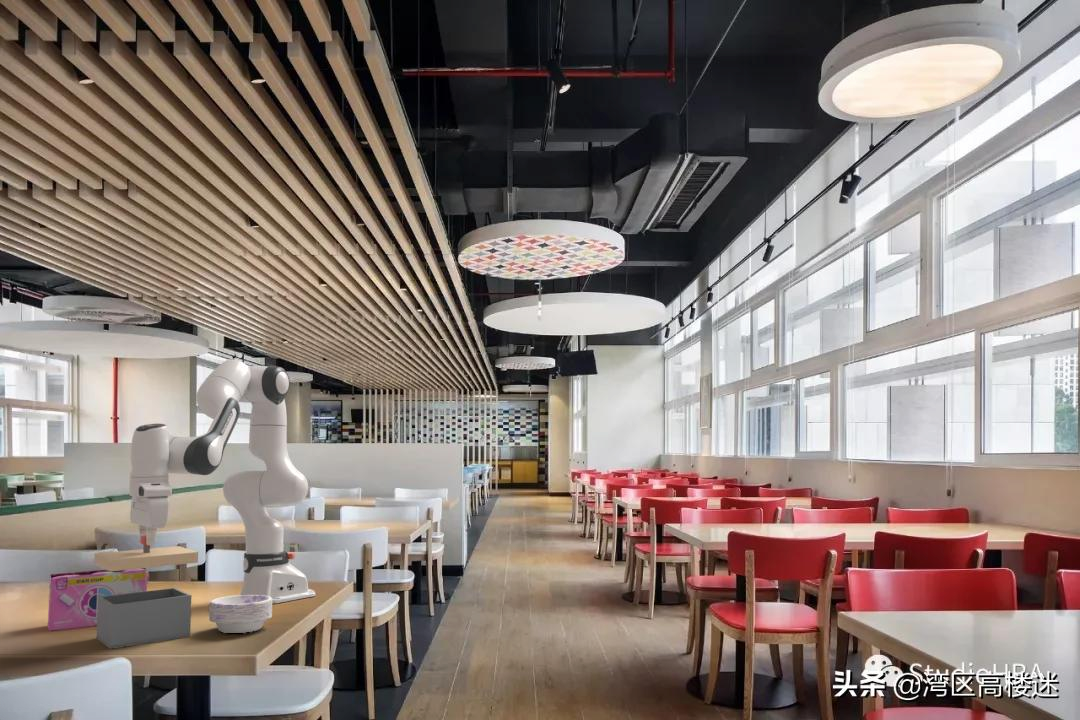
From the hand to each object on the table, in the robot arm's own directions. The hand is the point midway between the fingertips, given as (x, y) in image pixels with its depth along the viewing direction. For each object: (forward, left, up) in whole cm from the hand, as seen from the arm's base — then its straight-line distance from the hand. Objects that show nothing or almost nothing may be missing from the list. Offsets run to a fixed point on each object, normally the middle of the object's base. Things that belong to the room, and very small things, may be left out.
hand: (147, 543), depth 203 cm
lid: (0, 0, -5) cm, 5 cm away
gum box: (+5, -26, -23) cm, 35 cm away
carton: (0, 0, -23) cm, 23 cm away
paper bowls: (-21, +9, -23) cm, 32 cm away
